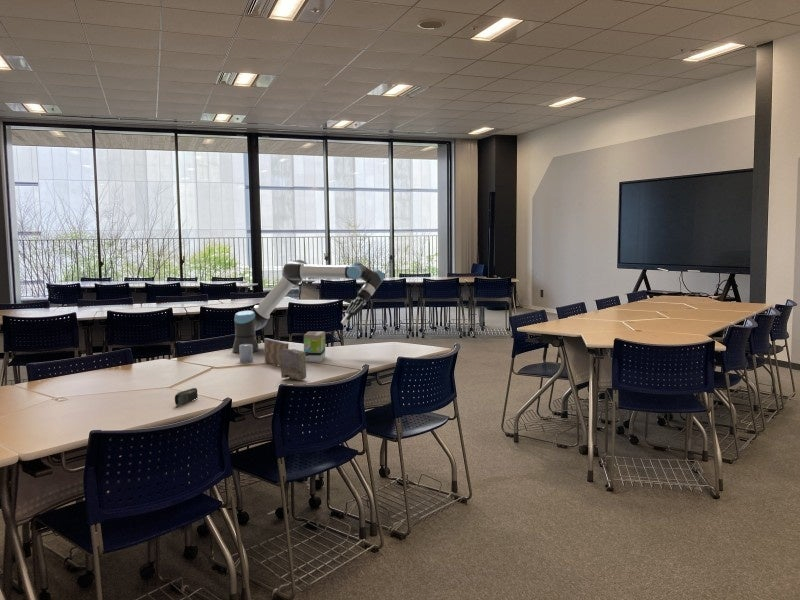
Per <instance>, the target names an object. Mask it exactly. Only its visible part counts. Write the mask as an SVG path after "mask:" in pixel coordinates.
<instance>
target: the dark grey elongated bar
mask: <svg viewBox="0 0 800 600" xmlns="http://www.w3.org/2000/svg"><path fill="white" fill-rule="evenodd" d="M196 398H197V399H198V389H197V387H192V388H188V389H186V390H183V391H179V392H177V393H176V394H175V395H174V403H175V405H176V406H175V407H176V408H177V407H180V406H183V405H185V404H184V403H186V404H188V403H190V402H189V401H191V402H193V401H192V400H194V399H196ZM197 399H196V400H197ZM194 401H195V400H194ZM187 402H188V403H187ZM182 404H183V405H182Z"/></svg>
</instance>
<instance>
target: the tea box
mask: <svg viewBox="0 0 800 600" xmlns="http://www.w3.org/2000/svg"><path fill="white" fill-rule="evenodd" d="M303 352H305V361H306V362H305V363H307V362H309V363H310V362H312V363H314V362H315V363H317V362H318V363H321V362H322V361H323V360H324V359H325V358H326V331H307V332H306V333H305V334H303Z"/></svg>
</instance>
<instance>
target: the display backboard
mask: <svg viewBox="0 0 800 600" xmlns="http://www.w3.org/2000/svg"><path fill="white" fill-rule="evenodd" d="M263 342H264V344H263V345H264V362H265V361H266V362H265V363H267V362H269V364H271V363H272V364H271V365H274V364H275V366H277V365H279V366H278V367H280V366H281V357H280V350H282V349H289V345H290V344H289V343H288V342H286V341H285V342H284V341H280V340H275V339H272V338H268V337H264V338H263Z"/></svg>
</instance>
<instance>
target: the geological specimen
mask: <svg viewBox="0 0 800 600" xmlns="http://www.w3.org/2000/svg"><path fill="white" fill-rule="evenodd" d="M280 357H281V367H280V371H281V373H280V374H281V378H282V379H284V378H285V379H287V378H289V379H290V378H292V379H291V380H293V379H297V381H303V380H305V379H306V378H307V365H306V363H307V362H306V361H305V352H304V350H299V349H295V348H288V349H282V350H280Z"/></svg>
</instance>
